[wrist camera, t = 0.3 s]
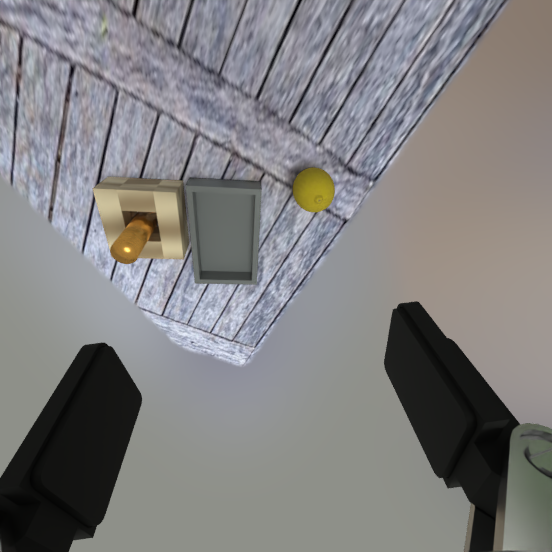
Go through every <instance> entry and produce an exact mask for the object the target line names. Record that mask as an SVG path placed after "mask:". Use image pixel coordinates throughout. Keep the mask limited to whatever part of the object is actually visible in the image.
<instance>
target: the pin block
mask: <svg viewBox="0 0 552 552" xmlns="http://www.w3.org/2000/svg"><path fill="white" fill-rule="evenodd" d="M93 191H94V195H95V199H96V202H97V206H98V209H99V213H100V216H101V220H102V224H103V227H104V231H105V234H106V238H107V241H108V245H109V249H110V248H111V246H112V244H113V243H114V242H115V241H116V239H117V238H118V237H119V235H120V234H121V233H122V232H123V230H124V229H125V228H126V227H127V225H128V224H129V223H130V222H131V220H132V219H133V218H134V216H135V215H136V214H137V211H138V212H156V213H157V219H158V225H159V226H156V228H155V230H154V231H153V233H152V235H151V236H150V238H149V240H148V241H147V243H146V245H145V246H144V248H143V250H142V251H141V253H140V255H139V256H138V258H154V259H184V257H185V254H186V251H187V248H188V245H189V236H188V226H187V216H186V206H185V196H184V186H183V181H179V180H161V179H143V178H125V177H107V178H106V179H105V180H103V181H102V182H100V183H99V184H98V185H96V186H95V187H94V188H93ZM111 256H112V255H111Z"/></svg>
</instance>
